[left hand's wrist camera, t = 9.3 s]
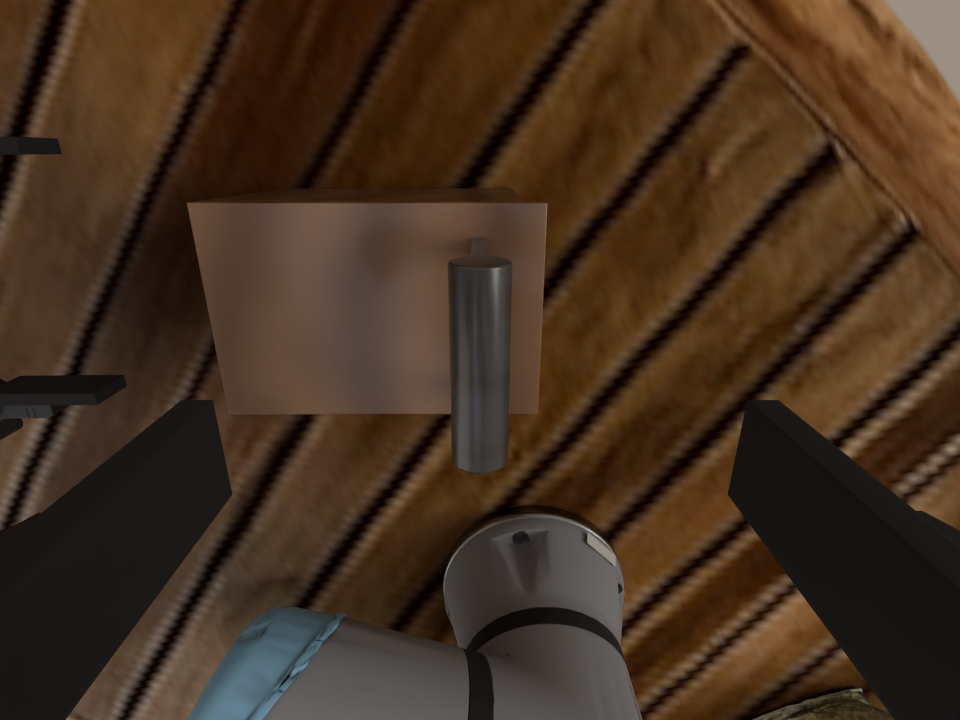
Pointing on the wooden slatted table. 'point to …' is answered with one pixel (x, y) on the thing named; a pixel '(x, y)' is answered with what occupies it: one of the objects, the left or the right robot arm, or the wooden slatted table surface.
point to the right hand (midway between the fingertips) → (79, 278)
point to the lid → (379, 310)
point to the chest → (379, 194)
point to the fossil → (831, 708)
